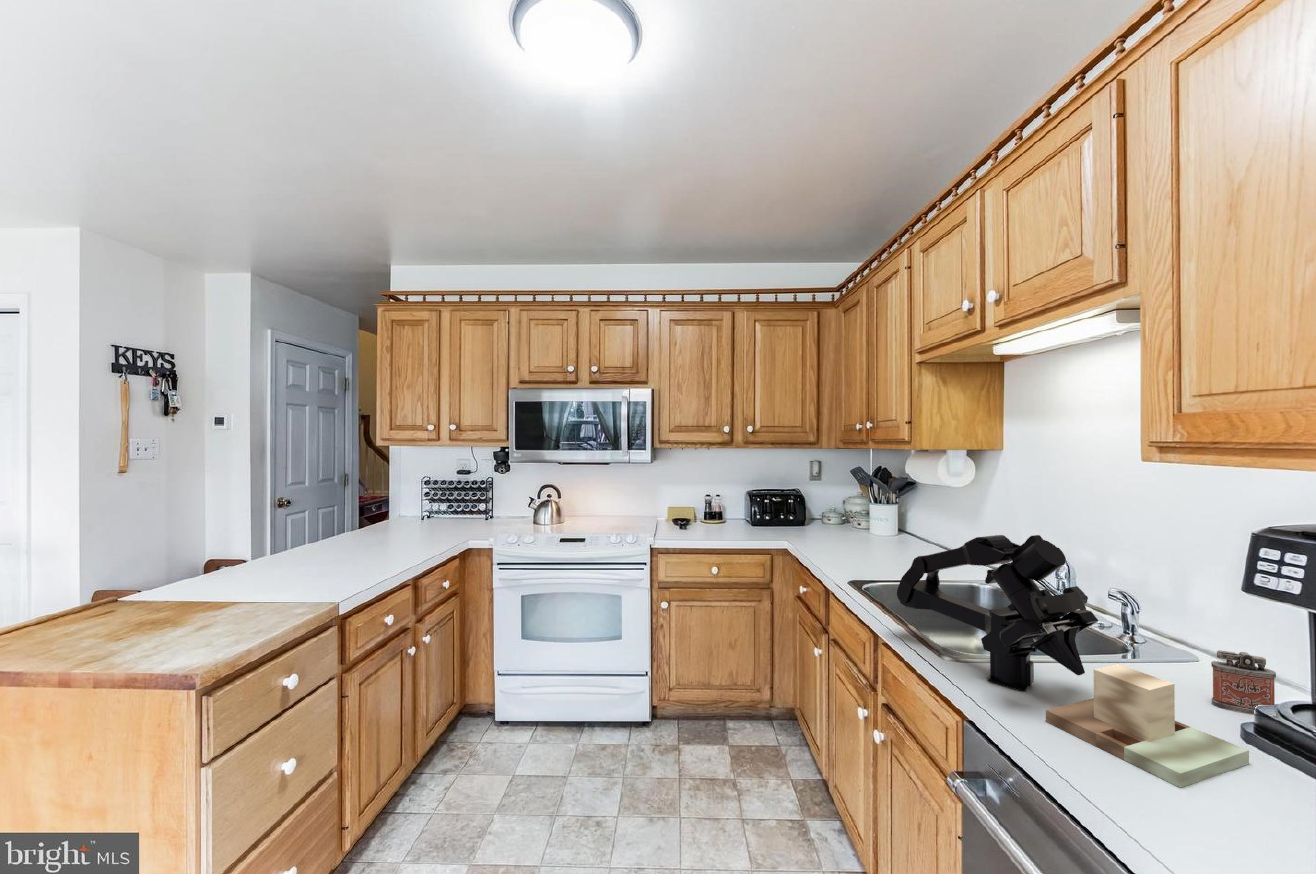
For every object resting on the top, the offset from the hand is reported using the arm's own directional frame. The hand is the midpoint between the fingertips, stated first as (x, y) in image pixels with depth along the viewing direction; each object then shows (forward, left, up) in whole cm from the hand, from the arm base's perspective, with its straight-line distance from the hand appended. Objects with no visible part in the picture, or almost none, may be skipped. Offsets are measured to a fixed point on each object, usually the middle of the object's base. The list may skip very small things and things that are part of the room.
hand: (1081, 674), depth 97 cm
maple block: (+7, -3, -5) cm, 9 cm away
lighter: (+20, +22, -7) cm, 30 cm away
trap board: (+8, -4, -7) cm, 11 cm away
